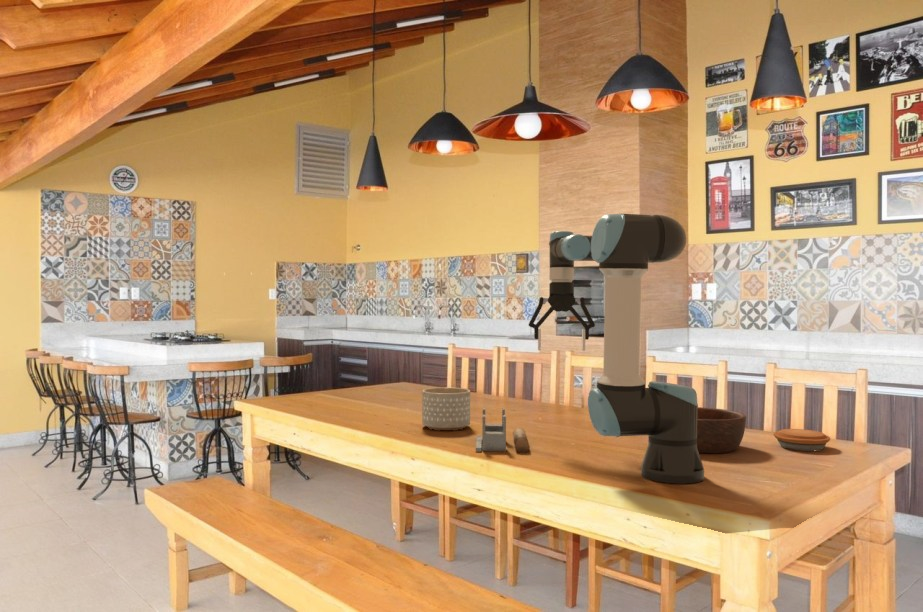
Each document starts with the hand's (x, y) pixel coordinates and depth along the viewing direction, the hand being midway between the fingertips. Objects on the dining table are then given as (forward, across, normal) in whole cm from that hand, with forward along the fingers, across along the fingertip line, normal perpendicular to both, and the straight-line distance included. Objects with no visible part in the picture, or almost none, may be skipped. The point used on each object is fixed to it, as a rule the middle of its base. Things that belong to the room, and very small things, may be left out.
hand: (561, 350), depth 224 cm
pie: (+29, -71, +3) cm, 77 cm away
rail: (+28, +13, +8) cm, 32 cm away
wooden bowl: (+29, -41, +5) cm, 50 cm away
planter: (+28, +38, -21) cm, 52 cm away
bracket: (+28, +21, +8) cm, 36 cm away
